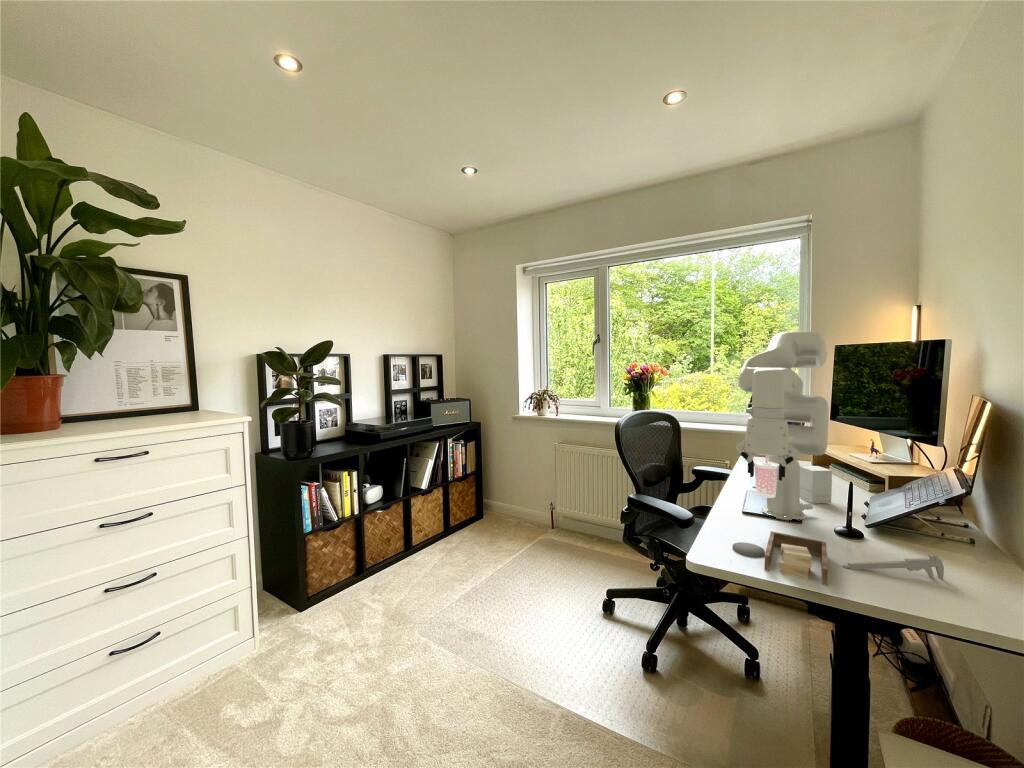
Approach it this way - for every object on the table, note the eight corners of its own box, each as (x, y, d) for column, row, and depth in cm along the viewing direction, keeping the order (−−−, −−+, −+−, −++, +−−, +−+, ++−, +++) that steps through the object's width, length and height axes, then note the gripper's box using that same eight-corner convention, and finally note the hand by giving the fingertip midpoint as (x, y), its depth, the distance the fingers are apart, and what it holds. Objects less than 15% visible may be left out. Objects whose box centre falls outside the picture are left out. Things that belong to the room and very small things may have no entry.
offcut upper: (780, 554, 111) (781, 543, 111) (806, 558, 108) (806, 547, 108) (784, 564, 106) (784, 552, 106) (811, 568, 103) (811, 556, 103)
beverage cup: (767, 499, 113) (768, 448, 112) (747, 493, 118) (748, 444, 118) (784, 497, 114) (785, 446, 114) (764, 491, 120) (765, 443, 120)
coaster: (752, 543, 123) (752, 541, 123) (771, 556, 115) (771, 554, 115) (726, 544, 123) (726, 542, 123) (743, 557, 115) (743, 555, 115)
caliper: (940, 578, 103) (941, 554, 103) (943, 581, 102) (944, 556, 102) (842, 567, 110) (842, 543, 109) (844, 569, 108) (844, 545, 108)
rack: (770, 544, 123) (770, 531, 122) (825, 556, 115) (826, 542, 115) (764, 569, 108) (764, 554, 108) (827, 585, 100) (827, 569, 100)
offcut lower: (782, 564, 112) (782, 553, 111) (810, 571, 108) (810, 560, 108) (779, 573, 107) (779, 562, 107) (808, 581, 103) (808, 569, 103)
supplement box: (832, 504, 156) (833, 470, 155) (812, 504, 156) (812, 470, 155) (817, 497, 163) (818, 465, 162) (798, 497, 163) (799, 465, 162)
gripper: (730, 413, 117) (729, 476, 118) (806, 417, 107) (804, 486, 108) (733, 410, 123) (732, 470, 124) (805, 413, 114) (803, 479, 115)
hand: (766, 477), depth 116 cm, fingers closed on beverage cup, 6 cm apart
